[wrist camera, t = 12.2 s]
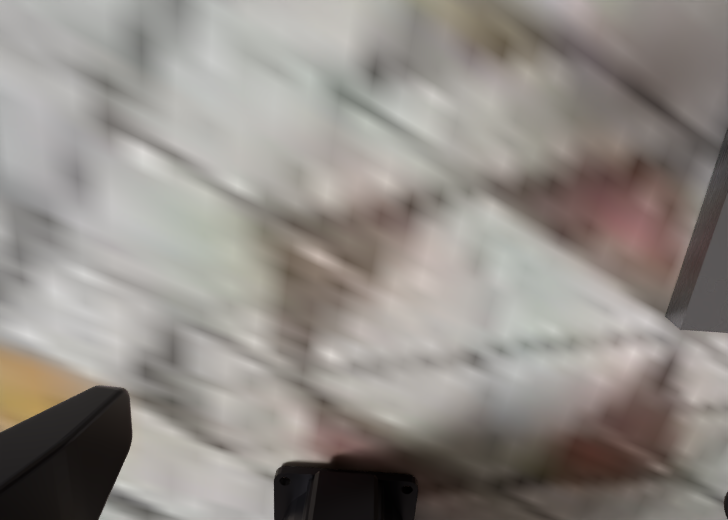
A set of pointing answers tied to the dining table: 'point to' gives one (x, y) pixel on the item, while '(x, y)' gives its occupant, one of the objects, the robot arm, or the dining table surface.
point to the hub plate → (706, 262)
